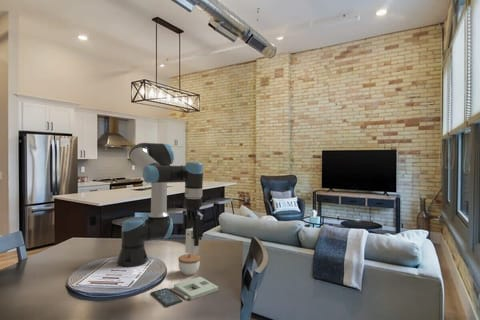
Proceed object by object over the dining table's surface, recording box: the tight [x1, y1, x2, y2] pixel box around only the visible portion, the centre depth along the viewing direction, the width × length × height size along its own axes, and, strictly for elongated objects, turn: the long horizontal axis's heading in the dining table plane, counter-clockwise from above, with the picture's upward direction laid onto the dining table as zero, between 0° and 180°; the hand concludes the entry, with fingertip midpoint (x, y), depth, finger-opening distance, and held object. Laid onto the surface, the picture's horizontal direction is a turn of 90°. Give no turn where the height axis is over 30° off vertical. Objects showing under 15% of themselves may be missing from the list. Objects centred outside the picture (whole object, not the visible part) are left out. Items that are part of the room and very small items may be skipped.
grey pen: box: [166, 286, 190, 300], centre depth 124 cm, size 13×1×1 cm, turn 50°
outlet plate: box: [173, 276, 219, 301], centre depth 129 cm, size 14×14×2 cm
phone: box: [150, 287, 183, 308], centre depth 121 cm, size 14×7×1 cm, turn 42°
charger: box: [185, 227, 196, 255], centre depth 127 cm, size 4×4×10 cm
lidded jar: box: [177, 253, 201, 276], centre depth 146 cm, size 11×11×9 cm
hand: (191, 251), depth 127 cm, fingers closed on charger, 4 cm apart
